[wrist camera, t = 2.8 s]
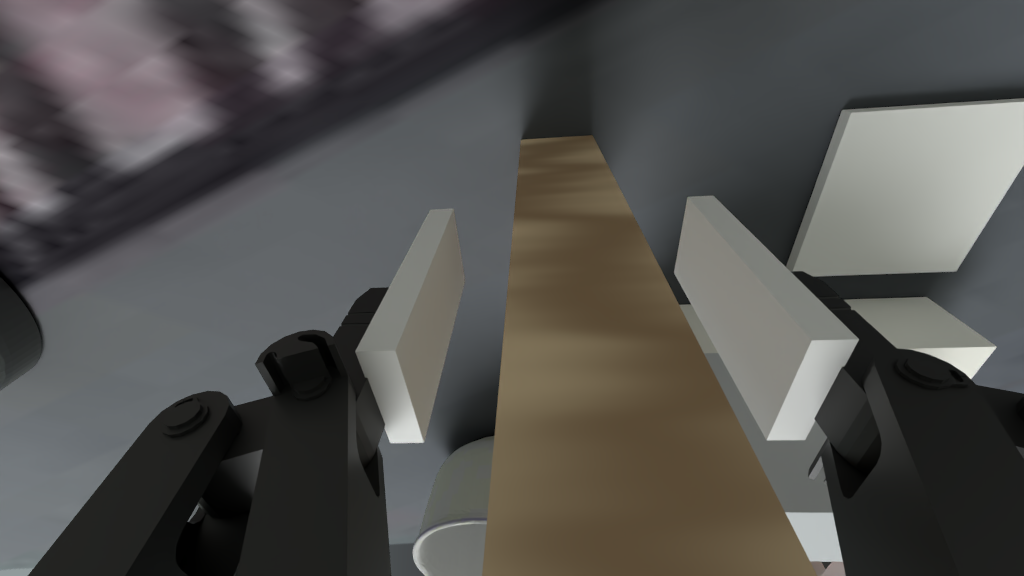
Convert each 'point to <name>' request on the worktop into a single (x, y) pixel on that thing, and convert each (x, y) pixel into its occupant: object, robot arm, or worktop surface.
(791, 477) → the white boxy piece
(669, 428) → the oak stick
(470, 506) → the teacup
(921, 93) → the worktop surface
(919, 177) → the pad
